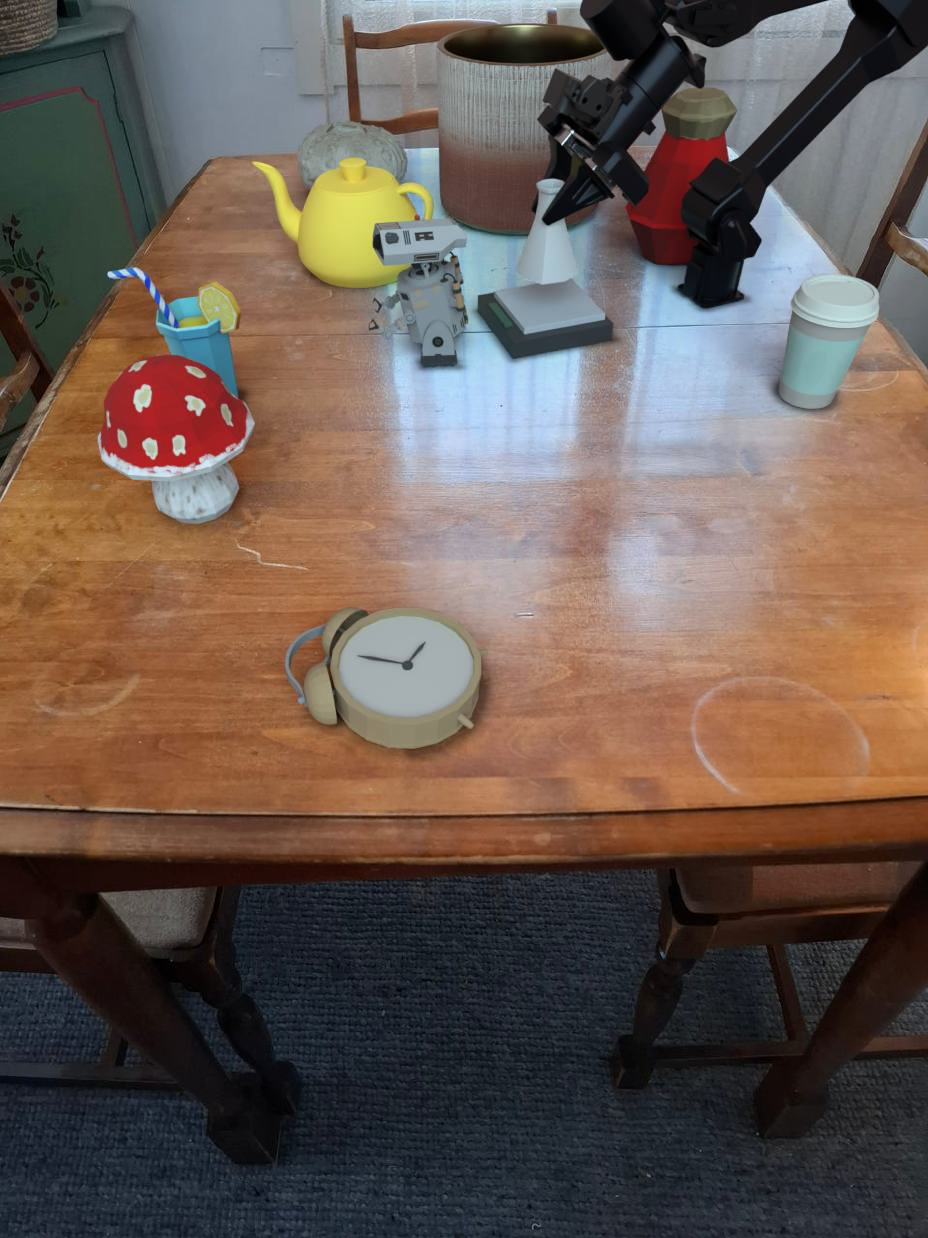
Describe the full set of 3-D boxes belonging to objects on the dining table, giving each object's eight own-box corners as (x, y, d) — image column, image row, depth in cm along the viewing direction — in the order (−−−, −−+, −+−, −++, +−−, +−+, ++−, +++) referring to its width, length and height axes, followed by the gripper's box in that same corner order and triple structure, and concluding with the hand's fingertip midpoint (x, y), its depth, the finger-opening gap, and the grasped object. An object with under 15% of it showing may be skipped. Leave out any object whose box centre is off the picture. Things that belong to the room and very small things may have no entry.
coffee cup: (846, 381, 91) (884, 277, 82) (844, 421, 85) (885, 314, 77) (768, 370, 93) (798, 266, 84) (762, 408, 87) (793, 302, 79)
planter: (552, 254, 116) (564, 74, 100) (409, 220, 125) (398, 51, 109) (625, 197, 130) (645, 32, 114) (491, 171, 140) (493, 15, 124)
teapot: (253, 289, 110) (230, 181, 100) (289, 237, 122) (271, 136, 112) (432, 296, 107) (427, 187, 97) (450, 242, 119) (448, 140, 109)
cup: (136, 416, 89) (87, 282, 78) (165, 379, 94) (123, 249, 83) (256, 425, 87) (223, 290, 76) (279, 388, 92) (251, 256, 81)
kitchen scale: (569, 295, 107) (571, 273, 105) (611, 340, 98) (614, 316, 96) (477, 311, 104) (477, 288, 102) (513, 358, 96) (513, 335, 94)
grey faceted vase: (539, 291, 93) (543, 200, 86) (505, 269, 97) (506, 180, 90) (589, 275, 95) (597, 185, 88) (553, 254, 100) (558, 167, 92)
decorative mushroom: (232, 445, 85) (194, 308, 74) (299, 509, 77) (268, 368, 66) (105, 498, 79) (43, 358, 68) (164, 573, 71) (105, 429, 60)
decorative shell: (387, 169, 142) (382, 103, 134) (425, 202, 130) (421, 133, 123) (290, 185, 137) (279, 118, 129) (320, 221, 126) (310, 151, 118)
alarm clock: (473, 738, 55) (261, 689, 55) (461, 774, 59) (263, 728, 59) (495, 620, 63) (309, 577, 62) (484, 659, 66) (308, 618, 66)
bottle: (698, 228, 121) (727, 72, 107) (746, 263, 112) (785, 99, 98) (603, 243, 118) (620, 85, 103) (645, 281, 109) (671, 114, 95)
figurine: (376, 333, 101) (363, 207, 90) (467, 330, 101) (465, 204, 90) (373, 370, 95) (358, 240, 84) (470, 367, 95) (468, 236, 84)
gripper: (557, 16, 86) (464, 144, 92) (637, 56, 74) (523, 200, 80) (616, 92, 93) (525, 206, 99) (697, 139, 81) (588, 266, 87)
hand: (538, 217), depth 91 cm, fingers closed on grey faceted vase, 3 cm apart
